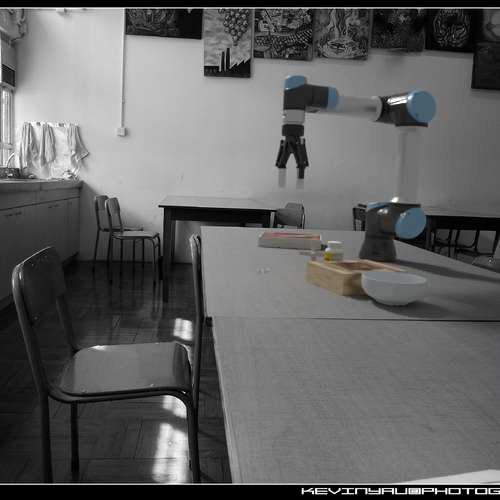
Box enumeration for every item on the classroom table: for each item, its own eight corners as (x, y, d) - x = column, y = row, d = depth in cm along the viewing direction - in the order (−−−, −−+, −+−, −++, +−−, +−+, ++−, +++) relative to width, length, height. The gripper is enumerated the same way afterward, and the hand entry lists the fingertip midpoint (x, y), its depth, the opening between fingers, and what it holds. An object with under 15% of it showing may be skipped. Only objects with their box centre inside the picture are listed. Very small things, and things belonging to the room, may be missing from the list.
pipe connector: (326, 271, 178) (328, 242, 177) (297, 268, 180) (299, 240, 179) (327, 266, 188) (329, 239, 186) (300, 264, 190) (302, 237, 188)
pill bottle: (321, 272, 175) (323, 240, 173) (339, 273, 176) (341, 241, 174) (325, 276, 169) (327, 242, 167) (344, 276, 169) (346, 243, 168)
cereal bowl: (415, 314, 125) (418, 285, 124) (350, 303, 134) (352, 276, 133) (431, 301, 140) (434, 275, 139) (372, 292, 148) (373, 267, 147)
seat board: (365, 277, 169) (366, 259, 168) (405, 291, 151) (407, 270, 150) (306, 280, 160) (307, 261, 159) (342, 295, 142) (343, 273, 141)
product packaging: (263, 241, 254) (263, 231, 254) (320, 245, 251) (321, 234, 250) (257, 247, 233) (258, 236, 232) (320, 251, 229) (321, 240, 229)
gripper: (267, 126, 182) (265, 186, 185) (300, 120, 159) (297, 189, 162) (286, 127, 185) (283, 187, 188) (321, 122, 162) (317, 190, 165)
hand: (289, 188), depth 175 cm, fingers open, 13 cm apart
